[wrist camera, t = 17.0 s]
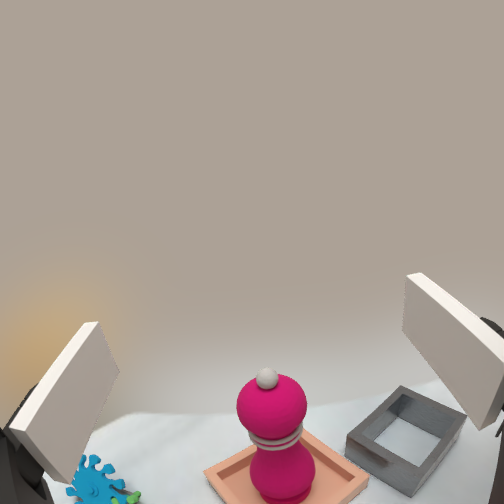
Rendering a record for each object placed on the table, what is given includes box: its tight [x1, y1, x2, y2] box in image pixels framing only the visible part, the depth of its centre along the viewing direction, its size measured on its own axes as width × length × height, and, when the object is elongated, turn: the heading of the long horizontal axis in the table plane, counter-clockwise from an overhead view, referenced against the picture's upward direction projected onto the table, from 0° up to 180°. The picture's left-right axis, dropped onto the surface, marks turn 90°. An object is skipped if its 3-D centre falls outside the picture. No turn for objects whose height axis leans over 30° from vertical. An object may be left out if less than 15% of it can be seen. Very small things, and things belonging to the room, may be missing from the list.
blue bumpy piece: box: [66, 455, 141, 504], centre depth 28 cm, size 11×6×10 cm
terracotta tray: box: [203, 428, 370, 504], centre depth 29 cm, size 14×14×3 cm
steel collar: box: [345, 386, 467, 498], centre depth 30 cm, size 11×11×5 cm
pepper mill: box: [237, 368, 316, 504], centre depth 26 cm, size 7×7×20 cm
